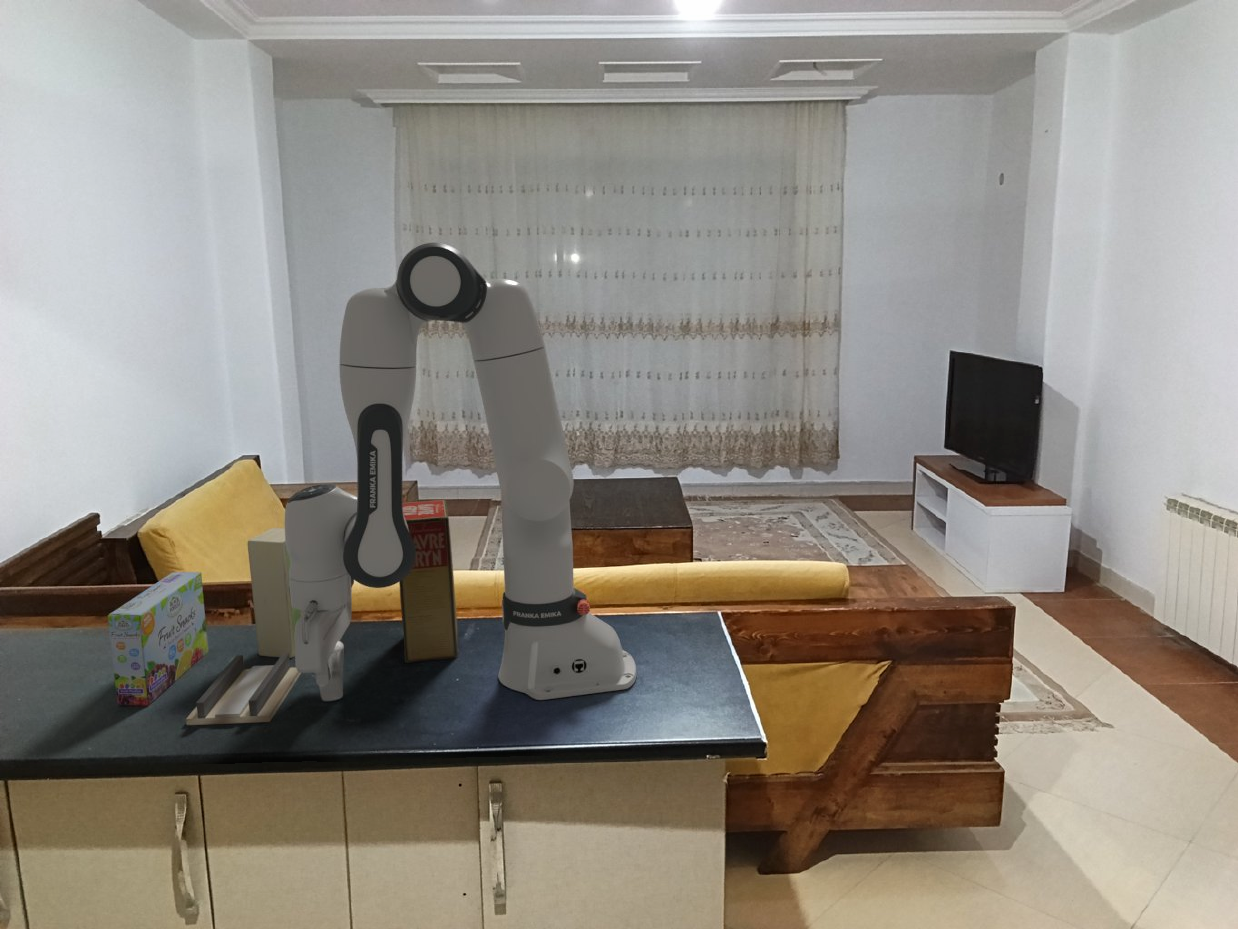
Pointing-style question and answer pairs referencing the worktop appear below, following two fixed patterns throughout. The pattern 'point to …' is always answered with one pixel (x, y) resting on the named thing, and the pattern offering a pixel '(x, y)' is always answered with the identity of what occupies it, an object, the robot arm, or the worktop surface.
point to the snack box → (157, 637)
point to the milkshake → (334, 675)
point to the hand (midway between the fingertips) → (328, 675)
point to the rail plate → (245, 693)
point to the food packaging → (429, 585)
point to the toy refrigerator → (272, 593)
